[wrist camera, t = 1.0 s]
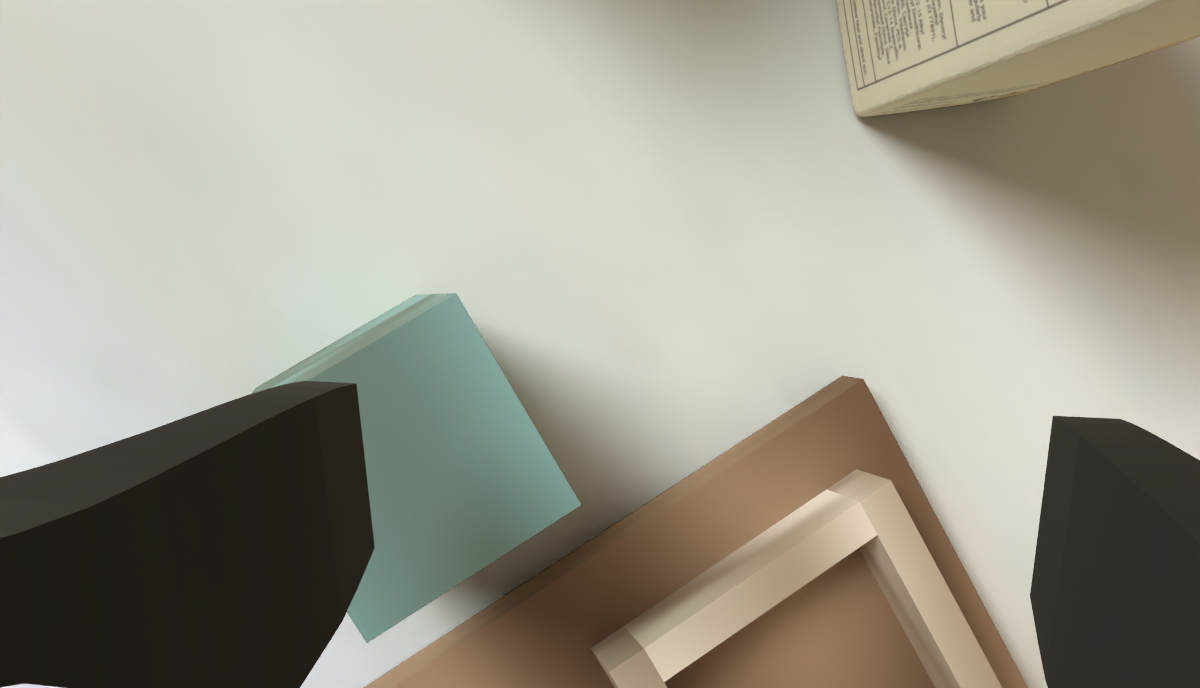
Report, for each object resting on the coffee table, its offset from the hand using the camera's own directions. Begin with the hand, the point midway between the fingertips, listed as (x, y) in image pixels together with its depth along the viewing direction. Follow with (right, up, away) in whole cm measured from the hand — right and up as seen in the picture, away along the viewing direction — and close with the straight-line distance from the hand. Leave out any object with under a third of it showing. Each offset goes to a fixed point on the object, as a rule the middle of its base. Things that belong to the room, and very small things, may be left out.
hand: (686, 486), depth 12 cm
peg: (-5, 0, +11) cm, 12 cm away
